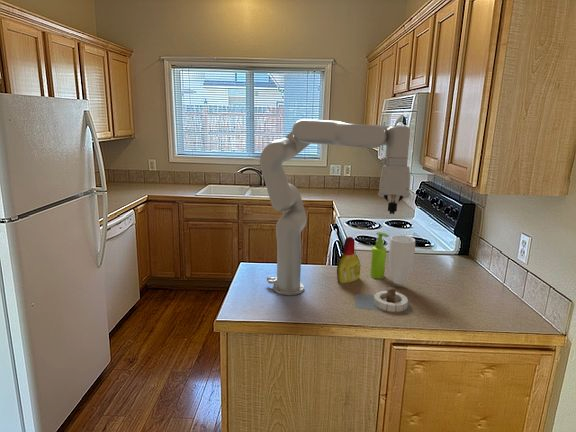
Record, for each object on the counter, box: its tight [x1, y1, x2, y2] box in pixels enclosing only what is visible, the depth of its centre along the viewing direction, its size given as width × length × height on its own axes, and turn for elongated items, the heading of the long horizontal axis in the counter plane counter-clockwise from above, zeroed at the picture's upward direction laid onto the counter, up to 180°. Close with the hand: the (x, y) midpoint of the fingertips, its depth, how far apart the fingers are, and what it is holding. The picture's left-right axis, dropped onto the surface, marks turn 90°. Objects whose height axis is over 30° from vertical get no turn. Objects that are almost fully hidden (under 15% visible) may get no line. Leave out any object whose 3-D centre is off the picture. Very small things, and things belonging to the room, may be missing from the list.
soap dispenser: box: [369, 231, 390, 280], centre depth 174 cm, size 6×7×20 cm
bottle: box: [336, 236, 361, 284], centre depth 168 cm, size 12×6×20 cm, turn 123°
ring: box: [373, 290, 409, 313], centre depth 149 cm, size 12×12×2 cm
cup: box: [388, 234, 416, 285], centre depth 162 cm, size 10×10×22 cm
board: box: [354, 293, 412, 315], centre depth 150 cm, size 20×12×1 cm, turn 79°
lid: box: [382, 286, 399, 303], centre depth 148 cm, size 6×6×6 cm
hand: (391, 213), depth 144 cm, fingers closed
